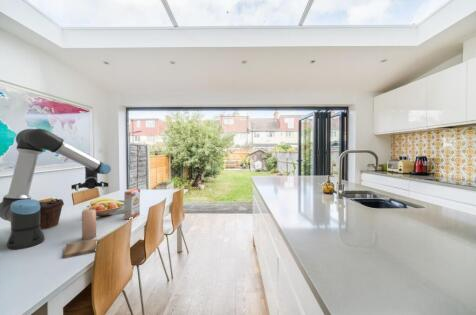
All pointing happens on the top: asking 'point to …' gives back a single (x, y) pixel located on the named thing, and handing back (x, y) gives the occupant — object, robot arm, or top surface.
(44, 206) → the brown tapered bucket
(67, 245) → the cutting board
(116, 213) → the grey carved relief
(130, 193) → the cracker box
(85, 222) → the terracotta canister
